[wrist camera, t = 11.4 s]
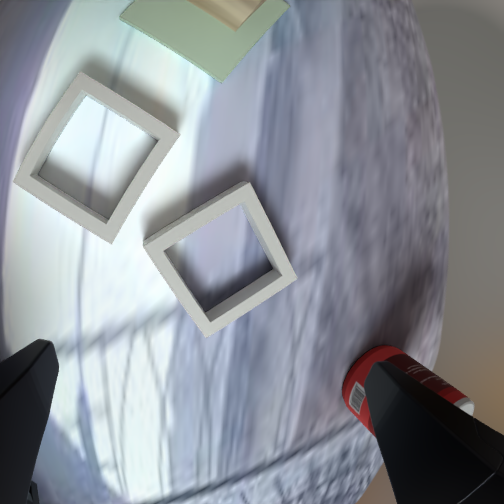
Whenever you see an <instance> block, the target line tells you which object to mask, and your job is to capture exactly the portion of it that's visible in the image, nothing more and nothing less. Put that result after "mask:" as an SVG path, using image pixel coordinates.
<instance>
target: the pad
mask: <svg viewBox="0 0 504 504" xmlns="http://www.w3.org/2000/svg"><path fill="white" fill-rule="evenodd" d="M289 7H290V5H288V4H287V3H286V2H285V1H283V0H266V1H265V2H264V3H263V4H262V5H261V6H260V7H259V8H258V9H257V10H256V11H255V12H254V13H253V14H252V15H251V16H250V17H249V18H248V19H247V20H246V21H245V22H244V23H243V24H242V25H241V26H240V27H239V28H238V29H237V30H236V32H235V31H233V30H232V29H230V28H229V27H228V26H226V25H225V24H223V23H222V22H220V21H219V20H217V19H216V18H214V17H213V16H211V15H209V14H208V13H206V12H205V11H203V10H202V9H200V8H198V7H197V6H195V5H194V4H192V3H190V2H189V1H187V0H135V1H134V2H133V3H132V4H131V5H130V6H129V7H128V8H127V9H126V10H125V11H124V12H123V13H122V14H121V15H120V16H119V19H120V20H121V21H123V22H125V23H127V24H129V25H130V26H132V27H134V28H136V29H137V30H139V31H141V32H143V33H144V34H146V35H148V36H149V37H151V38H153V39H154V40H156V41H158V42H159V43H161V44H163V45H164V46H166V47H167V48H169V49H171V50H172V51H174V52H175V53H177V54H178V55H180V56H182V57H183V58H185V59H186V60H188V61H189V62H191V63H192V64H194V65H195V66H197V67H198V68H200V69H201V70H203V71H204V72H206V73H207V74H208V75H210V76H211V77H213V78H214V79H216V80H217V81H218V82H220V83H222V82H223V81H224V80H225V79H226V78H227V76H228V75H229V74H230V73H231V71H232V70H233V69H234V68H235V67H236V65H237V64H238V63H239V62H240V61H241V60H242V58H243V57H244V56H245V55H246V54H247V53H248V51H249V50H250V49H251V48H252V47H253V46H254V45H255V43H256V42H257V41H258V40H259V39H260V38H261V37H262V36H263V35H264V33H265V32H266V31H267V30H268V29H269V28H270V27H271V26H272V25H273V24H274V23H275V22H276V21H277V20H278V18H279V17H280V16H281V15H282V14H283V13H284V12H285V11H286V10H287V9H288V8H289Z"/></svg>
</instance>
